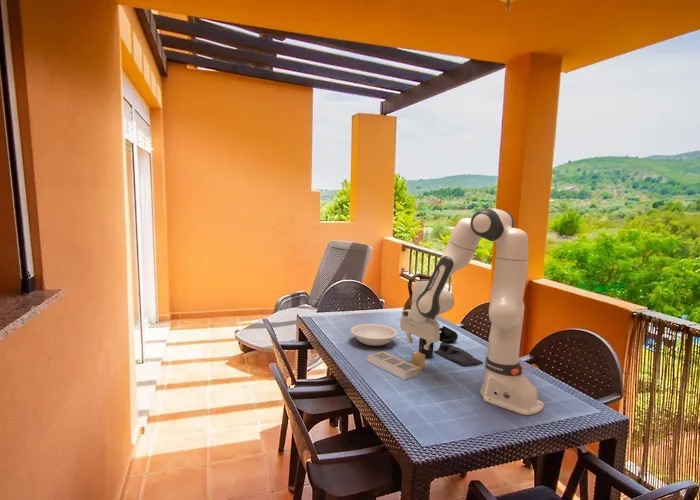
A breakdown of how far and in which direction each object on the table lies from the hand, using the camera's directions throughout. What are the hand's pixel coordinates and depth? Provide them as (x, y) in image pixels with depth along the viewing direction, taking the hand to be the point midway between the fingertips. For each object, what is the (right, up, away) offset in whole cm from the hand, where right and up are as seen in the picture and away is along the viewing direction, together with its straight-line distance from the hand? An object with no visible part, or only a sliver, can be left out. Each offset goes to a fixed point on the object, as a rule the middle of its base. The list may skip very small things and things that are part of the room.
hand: (417, 345), depth 179 cm
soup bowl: (-18, -6, +29) cm, 35 cm away
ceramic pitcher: (+12, -2, +71) cm, 73 cm away
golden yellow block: (0, -10, +1) cm, 10 cm away
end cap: (+21, -7, +38) cm, 44 cm away
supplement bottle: (+6, -9, +14) cm, 18 cm away
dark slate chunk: (+21, -10, +15) cm, 28 cm away
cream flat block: (-11, -9, -1) cm, 15 cm away
